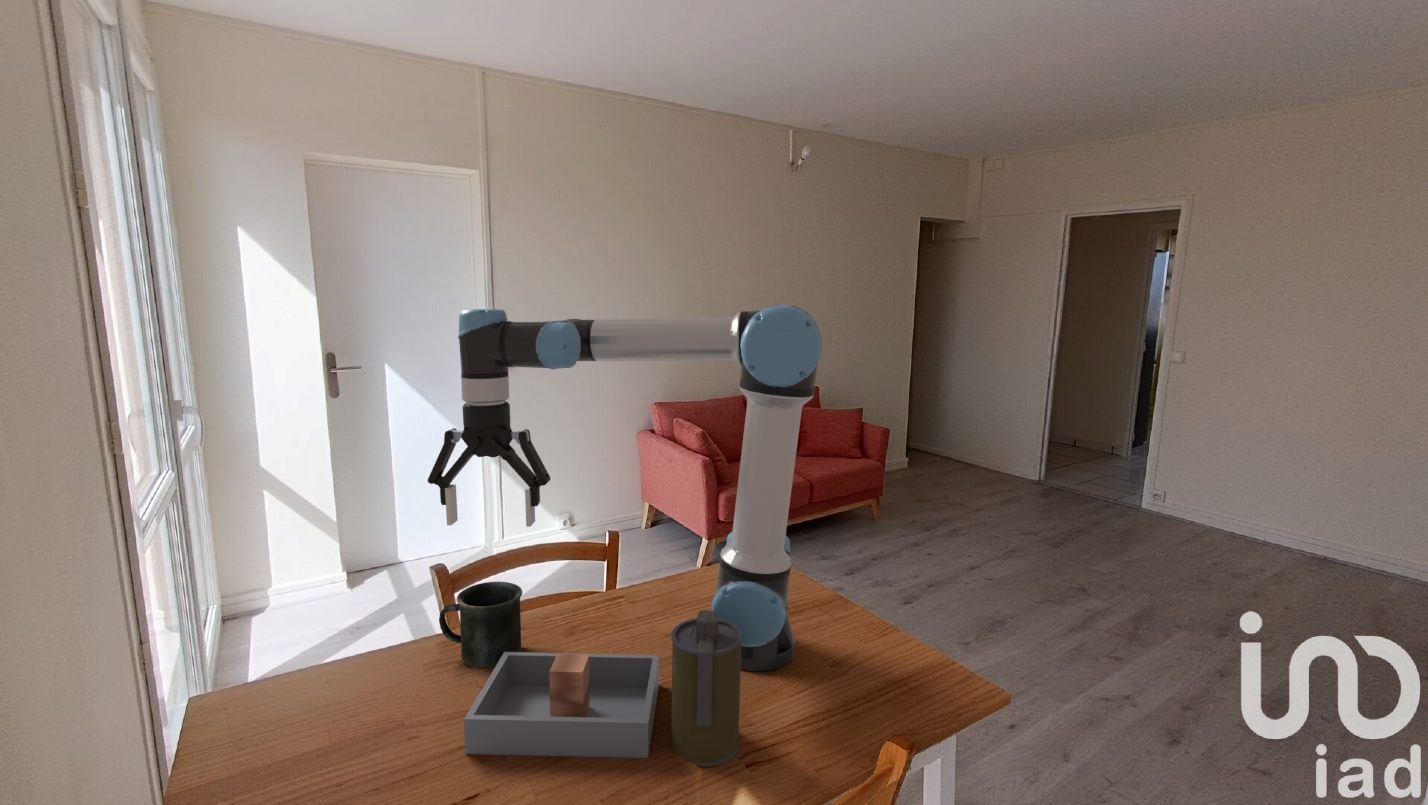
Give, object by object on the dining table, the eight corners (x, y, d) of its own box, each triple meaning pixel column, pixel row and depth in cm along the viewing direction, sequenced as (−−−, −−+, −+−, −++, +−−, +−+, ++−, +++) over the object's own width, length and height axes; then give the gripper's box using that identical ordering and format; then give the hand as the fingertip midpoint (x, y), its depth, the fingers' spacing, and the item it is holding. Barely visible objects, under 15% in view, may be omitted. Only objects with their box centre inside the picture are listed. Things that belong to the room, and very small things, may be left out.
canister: (673, 719, 103) (674, 599, 100) (739, 722, 103) (743, 601, 100) (665, 768, 93) (667, 635, 90) (740, 771, 92) (744, 638, 89)
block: (589, 706, 105) (589, 654, 104) (583, 727, 100) (582, 672, 99) (558, 706, 105) (557, 653, 104) (550, 726, 100) (549, 671, 99)
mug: (517, 671, 116) (515, 606, 114) (431, 673, 115) (428, 608, 113) (528, 639, 127) (527, 580, 125) (450, 641, 125) (447, 582, 123)
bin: (658, 688, 112) (659, 655, 111) (647, 761, 94) (648, 723, 93) (505, 684, 112) (504, 651, 111) (465, 757, 94) (463, 719, 93)
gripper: (565, 399, 114) (568, 517, 117) (422, 397, 115) (429, 515, 118) (554, 406, 107) (558, 532, 110) (401, 404, 107) (409, 529, 110)
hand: (491, 523), depth 114 cm, fingers open, 13 cm apart
